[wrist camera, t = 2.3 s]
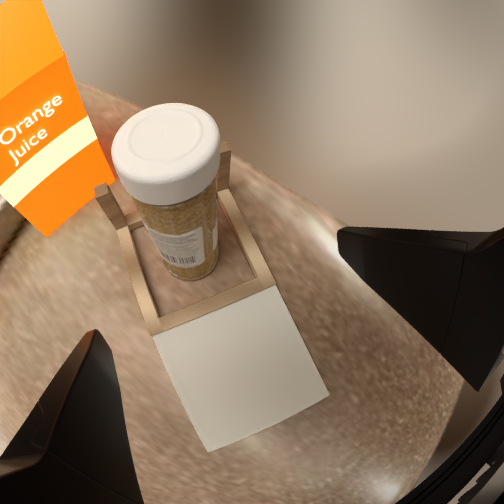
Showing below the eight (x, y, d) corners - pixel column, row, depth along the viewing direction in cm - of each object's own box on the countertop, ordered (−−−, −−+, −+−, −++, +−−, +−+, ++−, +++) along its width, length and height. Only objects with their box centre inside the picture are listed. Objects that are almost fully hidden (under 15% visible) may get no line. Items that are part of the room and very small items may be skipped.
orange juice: (25, 190, 23) (-67, 54, 5) (86, 141, 26) (30, -17, 7) (47, 239, 22) (-85, 83, 3) (117, 181, 25) (48, -19, 6)
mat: (327, 394, 20) (329, 395, 19) (208, 450, 17) (207, 452, 17) (271, 282, 23) (273, 279, 22) (152, 331, 20) (150, 330, 20)
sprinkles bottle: (228, 244, 23) (241, 117, 11) (200, 293, 22) (177, 198, 9) (180, 220, 24) (154, 89, 11) (151, 265, 22) (87, 155, 10)
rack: (273, 286, 22) (291, 261, 17) (153, 336, 20) (130, 327, 14) (223, 185, 25) (225, 140, 20) (117, 225, 23) (93, 187, 17)
